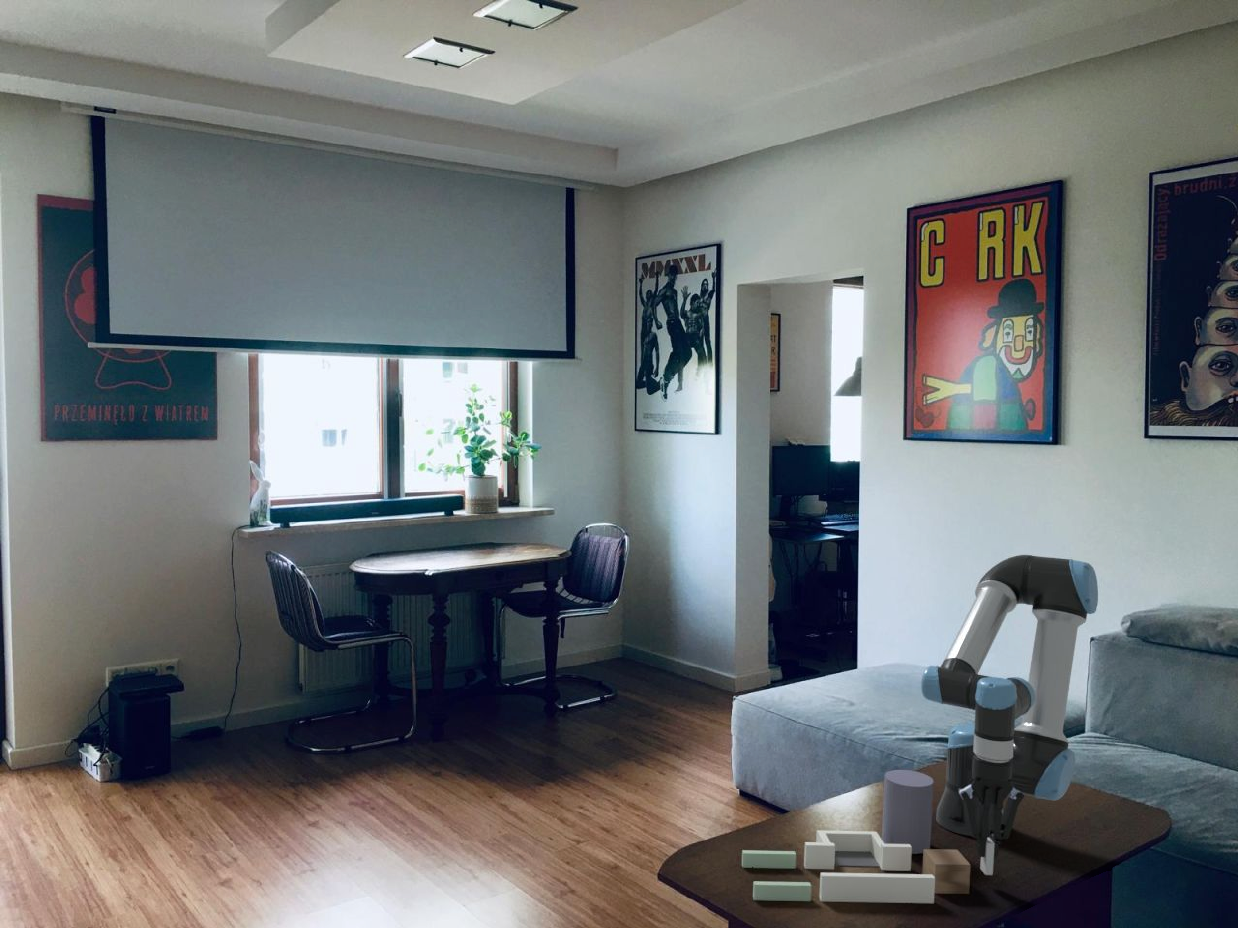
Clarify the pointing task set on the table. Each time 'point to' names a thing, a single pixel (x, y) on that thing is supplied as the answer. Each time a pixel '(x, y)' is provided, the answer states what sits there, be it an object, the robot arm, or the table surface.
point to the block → (947, 870)
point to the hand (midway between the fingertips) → (986, 871)
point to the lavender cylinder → (907, 809)
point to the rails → (776, 889)
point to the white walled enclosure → (866, 853)
